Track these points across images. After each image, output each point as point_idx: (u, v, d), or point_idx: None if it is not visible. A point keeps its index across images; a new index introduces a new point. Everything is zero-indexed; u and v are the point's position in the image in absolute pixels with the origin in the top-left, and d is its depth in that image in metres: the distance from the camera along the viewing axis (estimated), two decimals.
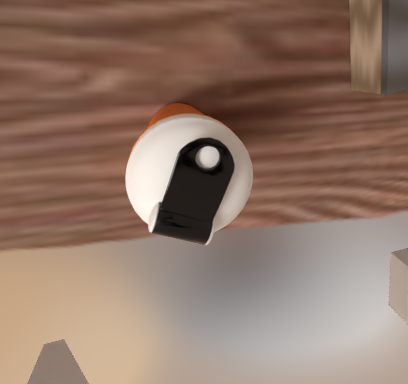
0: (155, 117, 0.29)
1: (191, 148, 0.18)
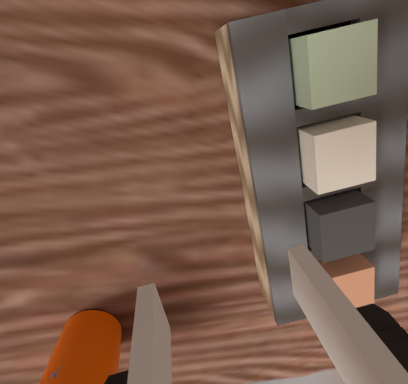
0: (48, 370, 0.31)
1: None
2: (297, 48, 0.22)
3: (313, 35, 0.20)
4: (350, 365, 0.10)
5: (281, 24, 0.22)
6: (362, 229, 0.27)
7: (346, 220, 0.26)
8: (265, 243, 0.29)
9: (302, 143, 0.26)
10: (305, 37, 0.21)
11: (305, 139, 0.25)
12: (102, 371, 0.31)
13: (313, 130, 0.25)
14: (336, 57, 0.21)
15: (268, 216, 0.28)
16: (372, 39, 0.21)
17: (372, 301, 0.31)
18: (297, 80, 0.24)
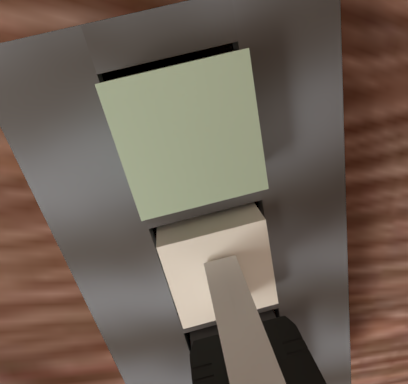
0: None
1: None
2: None
3: (110, 84, 0.10)
4: None
5: (79, 54, 0.11)
6: None
7: None
8: None
9: None
10: None
11: None
12: None
13: (170, 227, 0.15)
14: (172, 126, 0.10)
15: (127, 356, 0.17)
16: (244, 89, 0.10)
17: None
18: None
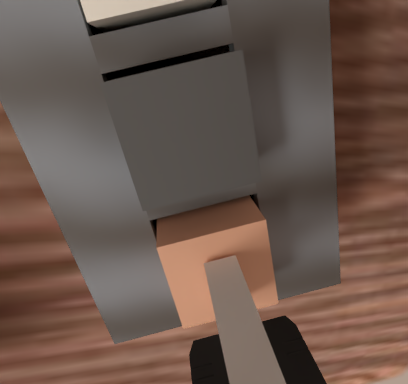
0: None
1: None
2: None
3: None
4: None
5: None
6: (222, 127, 0.11)
7: (175, 100, 0.11)
8: (37, 174, 0.14)
9: None
10: None
11: None
12: None
13: None
14: None
15: (24, 107, 0.13)
16: None
17: (273, 293, 0.15)
18: None
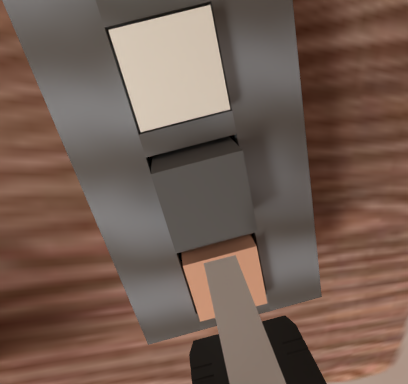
0: None
1: None
2: None
3: None
4: None
5: None
6: (229, 197, 0.17)
7: (198, 182, 0.16)
8: (99, 224, 0.19)
9: None
10: None
11: None
12: None
13: None
14: None
15: (93, 181, 0.18)
16: None
17: (263, 296, 0.22)
18: None
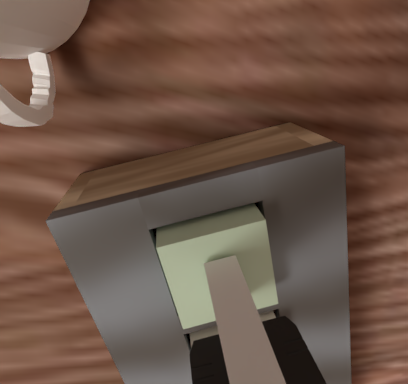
0: None
1: None
2: None
3: (166, 247, 0.13)
4: None
5: (135, 217, 0.14)
6: None
7: None
8: None
9: None
10: None
11: None
12: None
13: None
14: None
15: None
16: (261, 244, 0.14)
17: None
18: None
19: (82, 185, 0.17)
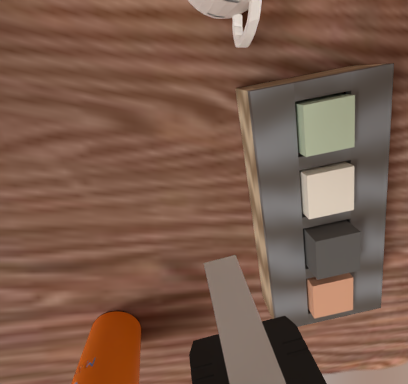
0: (84, 360, 0.36)
1: None
2: (296, 111, 0.30)
3: (308, 105, 0.28)
4: None
5: (290, 93, 0.29)
6: (350, 253, 0.33)
7: (336, 246, 0.33)
8: (270, 261, 0.35)
9: None
10: (302, 106, 0.28)
11: (300, 176, 0.33)
12: (129, 363, 0.37)
13: (307, 170, 0.32)
14: (324, 120, 0.29)
15: (273, 239, 0.34)
16: (351, 109, 0.29)
17: (351, 305, 0.38)
18: None
19: (247, 88, 0.32)
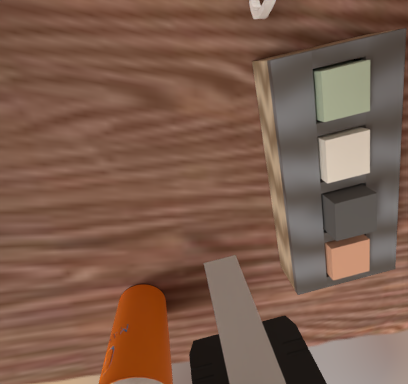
0: (118, 327, 0.39)
1: None
2: (313, 78, 0.32)
3: (325, 71, 0.30)
4: None
5: (308, 61, 0.30)
6: (367, 214, 0.35)
7: (354, 207, 0.34)
8: (290, 226, 0.37)
9: None
10: (320, 72, 0.30)
11: (318, 142, 0.34)
12: (160, 329, 0.39)
13: (324, 136, 0.34)
14: (341, 86, 0.30)
15: (293, 205, 0.36)
16: (366, 73, 0.30)
17: (368, 266, 0.40)
18: None
19: (265, 59, 0.33)
